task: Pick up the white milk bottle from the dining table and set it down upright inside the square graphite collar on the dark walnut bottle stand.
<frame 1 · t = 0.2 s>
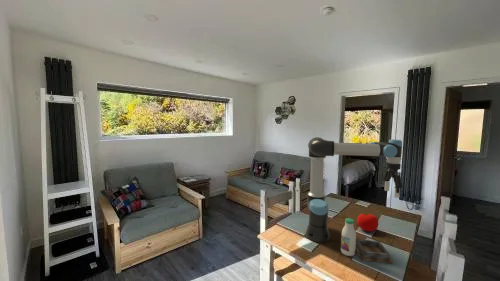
hand: (391, 193, 145), 28 cm above the table, fingers open, 13 cm apart
milk bottle: (347, 252, 126), on the table
bottle stand: (371, 253, 125), on the table
tomato: (367, 229, 153), on the table
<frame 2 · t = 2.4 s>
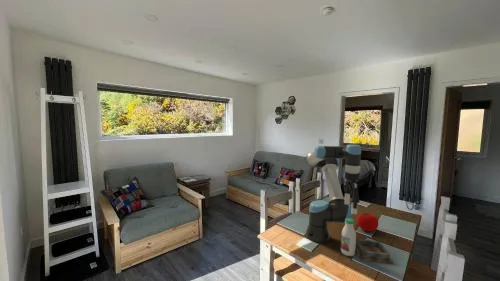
hand: (350, 208, 123), 26 cm above the table, fingers open, 13 cm apart
nothing on the table moved.
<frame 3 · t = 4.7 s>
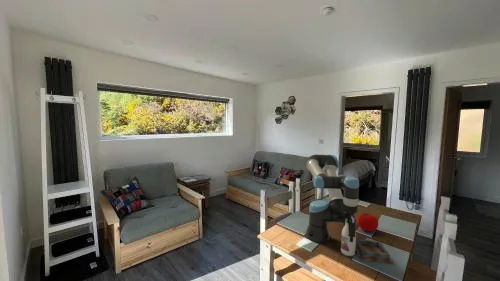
hand: (348, 242, 125), 6 cm above the table, fingers closed on milk bottle, 8 cm apart
milk bottle: (347, 252, 126), on the table, touching gripper
everything else where it was.
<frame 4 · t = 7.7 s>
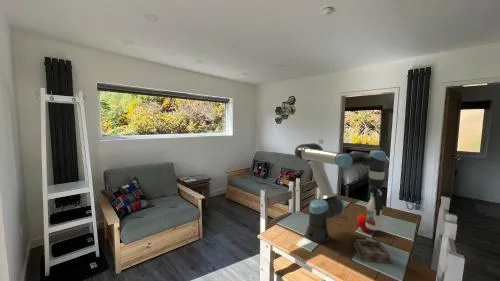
hand: (373, 217, 123), 22 cm above the table, fingers closed on milk bottle, 8 cm apart
milk bottle: (372, 227, 124), point 15 cm above the table, touching gripper
everything else where it was.
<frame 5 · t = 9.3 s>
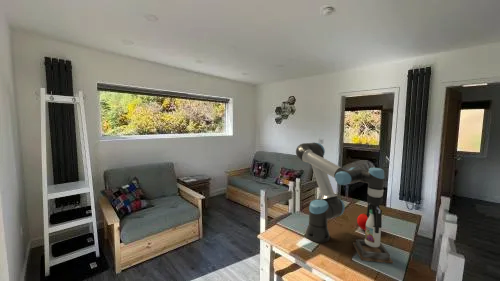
hand: (372, 233, 124), 12 cm above the table, fingers closed on milk bottle, 8 cm apart
milk bottle: (372, 244, 125), point 5 cm above the table, touching gripper
everything else where it was.
when the fingers open (9 cm above the table, at t = 10.8 s): milk bottle drops 1 cm, resting on bottle stand.
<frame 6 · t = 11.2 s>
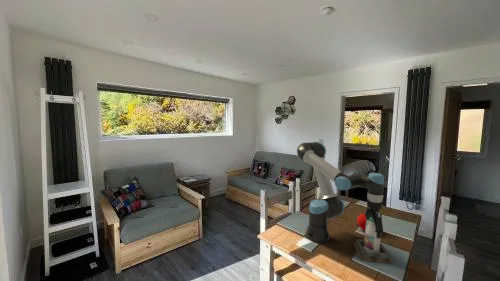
hand: (372, 236, 124), 10 cm above the table, fingers open, 13 cm apart
milk bottle: (371, 251, 125), point 1 cm above the table, touching bottle stand
everything else where it was.
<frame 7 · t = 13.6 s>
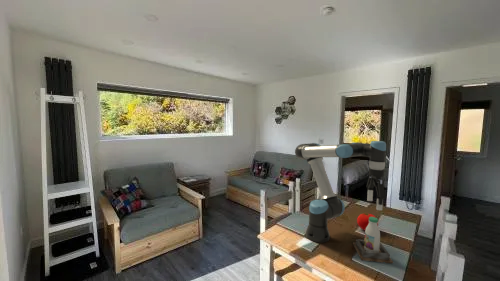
hand: (374, 205, 123), 29 cm above the table, fingers open, 13 cm apart
nothing on the table moved.
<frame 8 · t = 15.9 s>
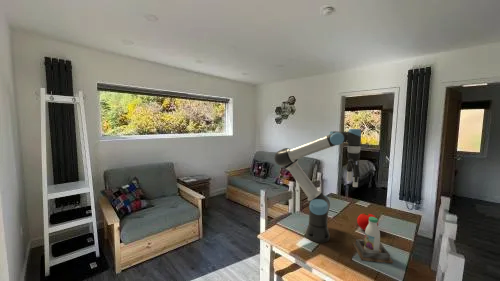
hand: (352, 183, 144), 35 cm above the table, fingers open, 13 cm apart
nothing on the table moved.
at the end: milk bottle 0.1 cm off-centre on the bottle stand, point 0.8 cm above the bottle stand's base; milk bottle tilted 0°; the gripper is holding nothing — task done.
